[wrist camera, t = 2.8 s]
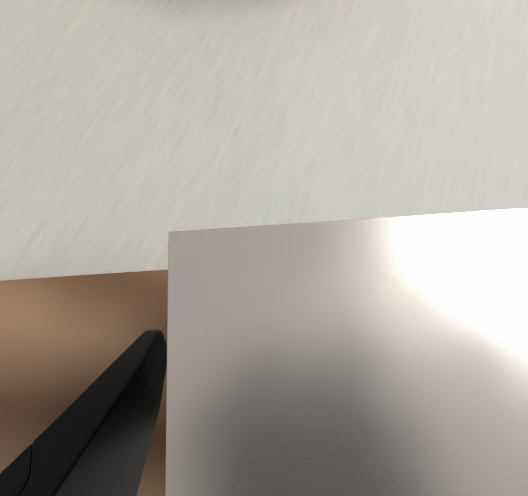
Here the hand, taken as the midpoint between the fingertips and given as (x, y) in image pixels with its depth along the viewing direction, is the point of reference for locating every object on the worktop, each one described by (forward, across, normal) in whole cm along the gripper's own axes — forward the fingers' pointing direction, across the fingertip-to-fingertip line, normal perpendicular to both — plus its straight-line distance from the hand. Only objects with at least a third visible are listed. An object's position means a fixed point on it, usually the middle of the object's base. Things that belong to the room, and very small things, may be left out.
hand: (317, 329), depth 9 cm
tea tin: (+4, 0, +6) cm, 7 cm away
